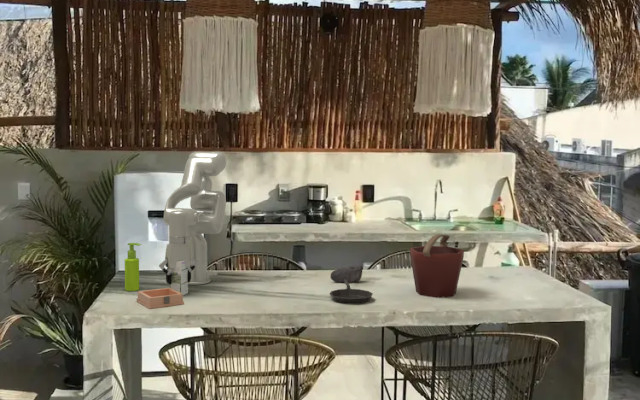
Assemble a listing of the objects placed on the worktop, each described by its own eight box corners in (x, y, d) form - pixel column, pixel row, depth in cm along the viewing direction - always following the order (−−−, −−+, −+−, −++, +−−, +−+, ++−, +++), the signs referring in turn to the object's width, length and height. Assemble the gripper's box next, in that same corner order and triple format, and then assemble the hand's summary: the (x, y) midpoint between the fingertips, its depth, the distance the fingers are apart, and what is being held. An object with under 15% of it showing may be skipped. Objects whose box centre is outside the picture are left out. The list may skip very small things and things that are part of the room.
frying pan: (331, 305, 271) (331, 296, 270) (324, 287, 302) (324, 279, 302) (376, 305, 272) (376, 295, 272) (364, 287, 304) (365, 279, 303)
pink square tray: (170, 297, 281) (170, 287, 280) (184, 304, 269) (184, 294, 269) (136, 301, 273) (136, 291, 272) (149, 308, 261) (149, 298, 261)
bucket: (433, 284, 310) (434, 229, 308) (475, 293, 294) (477, 235, 292) (398, 293, 293) (400, 234, 291) (441, 302, 277) (443, 240, 275)
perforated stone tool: (330, 283, 310) (331, 268, 310) (329, 281, 315) (329, 266, 315) (363, 283, 312) (364, 268, 311) (362, 281, 317) (362, 266, 316)
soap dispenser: (137, 291, 290) (137, 244, 288) (122, 290, 291) (121, 243, 289) (144, 288, 296) (143, 242, 294) (129, 287, 297) (128, 241, 295)
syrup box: (188, 293, 288) (188, 259, 287) (181, 296, 282) (181, 261, 281) (176, 292, 290) (176, 258, 288) (168, 295, 284) (168, 260, 283)
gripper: (194, 237, 292) (194, 278, 293) (154, 241, 282) (155, 283, 284) (201, 240, 286) (201, 282, 287) (161, 243, 276) (162, 286, 278)
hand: (178, 282), depth 286 cm, fingers closed on syrup box, 7 cm apart
